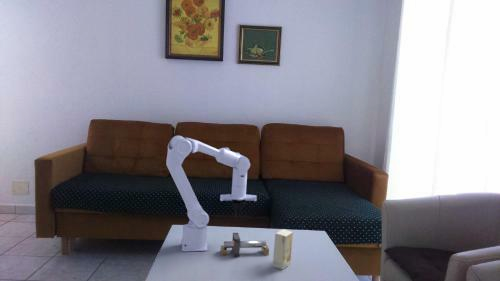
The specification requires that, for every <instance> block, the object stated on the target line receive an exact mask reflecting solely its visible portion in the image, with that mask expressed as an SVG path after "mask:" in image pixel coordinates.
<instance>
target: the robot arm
mask: <svg viewBox="0 0 500 281" xmlns="http://www.w3.org/2000/svg"><path fill="white" fill-rule="evenodd" d="M197 152H199V153H203V154H205V155H209V156H212V157H214V158H215V160H216V162H217V163H221V164H223V165H225V166H229V167H231V168H232V182H231V184H232V185H231V194H229V193H228V194H227V193H226V194H220V197H219V198H220V199H219V200H220V202H223V201H231V203H232V206H233V209H234V216H235V219H240V218H241V213H242V211H243V209H244V208H245V206H246V202H247V201H254V202H257V200H258V198H257V197H258V196H257V195H255V194H248V193H247V182H248V181H247V180H248V171H249V169H250V168H251V163H250V159H249V158H248V157H246V156H244V155H243V154H240V152H235V151H231V150H230V148H229V147H222V148H219V149H217V148H216V147H213V146H211V145H209V144H206V143H204V142H201V141H199V140H197V139H193V138H190V137H183V135H174V136H173V137H172V138H171V139H170V141H169V143H168V145H167V154H166V155H167V156H166V161H165V162H166V163H165V164H166V168H167V169H168V171H169V173H170V175H171V178H172V179H173V182H174V183H175V185H176V186H175V187H177V190H178V192H179V194H180V196H181V198H182V200H183V202H184V204H185V208H186V209H187V214H186V215H187V217H188V219H189V221H188V223H187V224H182V238H181V242H180V243H181V252H207V251H208V244H207V232H208V230H207V228H208V224H209V221H210V216H209V214H208V213H207V212H206V211H205V210H204V209H203V207H202V205H200V202H199V201H198V198H197V196H196V194H195V192H194V189H193V188H192V186H191V183H190V181H189V179H188V178H187V175H186V172H185V171H184V168H183V167H182V164H183V162H184V161H185V159H186V157H188V156H189V155H190V154H191V153H192V154H195V153H197Z"/></svg>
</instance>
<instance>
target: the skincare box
mask: <svg viewBox="0 0 500 281" xmlns="http://www.w3.org/2000/svg"><path fill="white" fill-rule="evenodd" d="M293 235H294V231H291V230H288V229H285V228H284V229H281V230H278V231H277V232H276V233H275V234H274V247H273V256H272V257H273V259H272V267H274V268H277V269H280V270H284V269H286V268H287V267H288V266H290V265H291V258H292V247H293V238H294V237H293Z"/></svg>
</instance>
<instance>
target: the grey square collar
mask: <svg viewBox="0 0 500 281" xmlns="http://www.w3.org/2000/svg"><path fill="white" fill-rule="evenodd" d="M231 241H234V248H231V252H232V254H233V257H234V258H235V257H236V258H238V257H240V252H241V248H240V241H241V237H240V234H239V232H232V240H231Z"/></svg>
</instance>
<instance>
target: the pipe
mask: <svg viewBox="0 0 500 281" xmlns="http://www.w3.org/2000/svg"><path fill="white" fill-rule="evenodd" d="M232 248H234V241H232V240H224V241H223V245H220V254H221V257H227V256H228V249H232ZM248 248H249V249H253V248H254V249H255V248H256V249H257V248H261V252H262V255H263V256H269V255H270V254H269V253H270V249H269V246H268V245H267V241H266V240H240V249H248Z"/></svg>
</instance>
